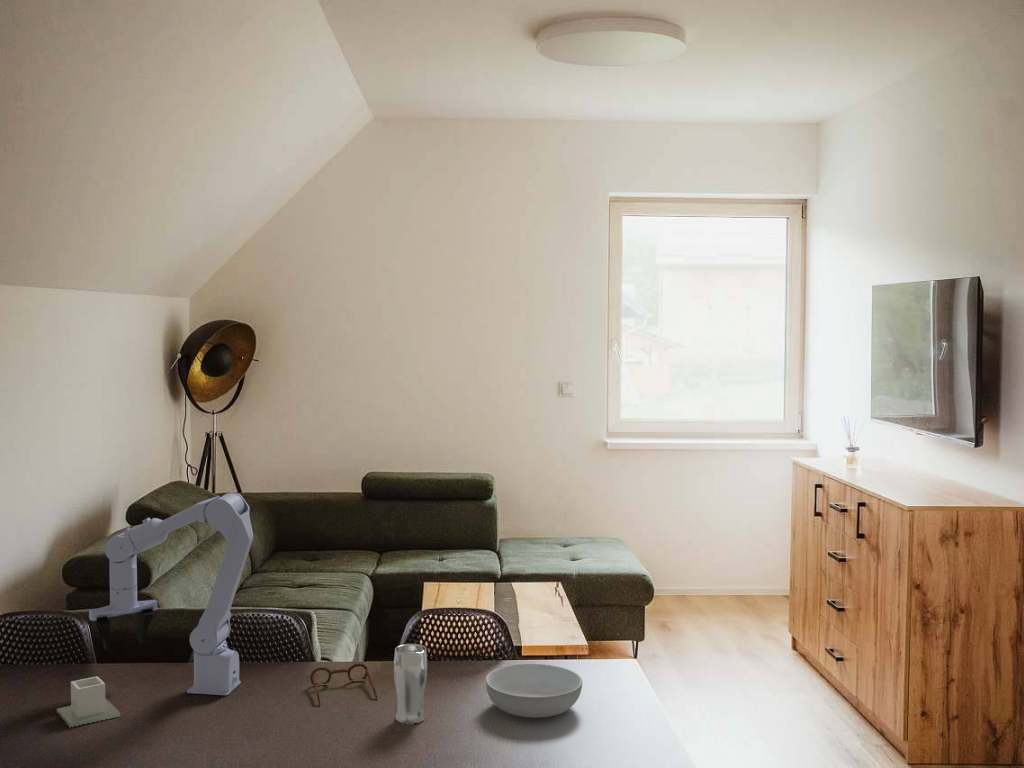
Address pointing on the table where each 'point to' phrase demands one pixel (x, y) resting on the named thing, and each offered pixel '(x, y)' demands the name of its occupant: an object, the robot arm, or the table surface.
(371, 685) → the glasses
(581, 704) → the table surface
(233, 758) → the table surface
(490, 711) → the table surface
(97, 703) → the sleeve
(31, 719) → the table surface
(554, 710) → the serving bowl
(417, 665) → the beer glass
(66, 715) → the duct stub
